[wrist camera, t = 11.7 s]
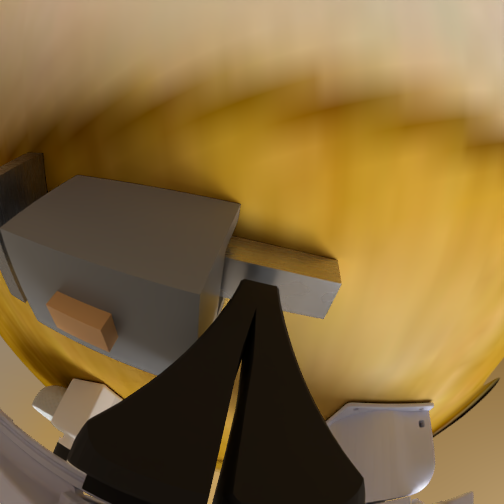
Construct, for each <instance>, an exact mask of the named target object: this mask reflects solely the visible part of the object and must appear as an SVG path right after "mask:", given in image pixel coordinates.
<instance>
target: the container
mask: <svg viewBox="0 0 504 504" xmlns="http://www.w3.org/2000/svg"><path fill="white" fill-rule="evenodd" d="M122 400H123V399H122V398H121V397H119V396H118V395H117V394H115V393H114V392H113V391H112V390H111V389H109V388H108V387H107V386H106V385H104V384H100V383H94V382H89V381H84V380H79V379H72V381H71V383H70V385H69V386H68V388H67V390H66V392H65V394H64V396H63V398H62V400H61V402H60V404H59V405H58V407H57V409H56V411H55V413H54V415H53V418H52V420H51V423H52V424H53V426H55V427H56V428H57V429H58V430H60V431H61V432H63V433H64V436H63V438H61V437H60V438H59V440H58V443H57V445H56V447H55V450H54V452H53V453H54V454H55V455H57V456H58V457H60V458H61V459H63V460H65V461H66V462H68V459H67V457H68V454H69V452H70V449H71V447H72V444H73V442H74V440H75V438H76V436H77V434H78V433H79V431H80V430H81V428H82V427H83V425H84V424H85V423H86V422H87V420H89V419H90V418H92V417H94V416H95V415H97V414H99V413H101V412H103V411H105V410H106V409H108V408H110V407H112V406H114V405H115V404H117V403H119V402H120V401H122ZM68 463H69V462H68ZM69 464H70V463H69ZM71 465H72V464H71ZM74 467H75V466H74Z"/></svg>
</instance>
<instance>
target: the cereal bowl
mask: <svg viewBox="0 0 504 504" xmlns="http://www.w3.org/2000/svg"><path fill="white" fill-rule="evenodd" d="M66 390H67V388H64V387H61V386H48V387H45V388H43V389H42V390H40V392H39V393H38V394H37V396H36V398H35V399H34V401H33V404H32V406H33V407H34V408H35V409H36V410H37V411H38V412H39V413H41V414H42V415H43V416H45V417H46V418H47V419H49V420H50V421H51V420H52V418H53V415H54V413H55V411H56V409H57V407H58V405H59V404H60V402H61V400H62V398H63V396H64V394H65V392H66Z"/></svg>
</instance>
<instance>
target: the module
mask: <svg viewBox="0 0 504 504" xmlns="http://www.w3.org/2000/svg"><path fill="white" fill-rule="evenodd" d="M240 205H241V204H238V203H233V202H228V201H224V200H219V199H214V198H209V197H204V196H199V195H194V194H189V193H184V192H179V191H173V190H168V189H162V188H157V187H151V186H145V185H140V184H134V183H127V182H121V181H115V180H108V179H102V178H95V177H88V176H81V175H76V176H74V177H73V178H71V179H69V180H68V181H66V182H64V183H63V184H61V185H60V186H58V187H56V188H55V189H53V190H52V191H50V192H49V193H47V194H45V195H44V196H42V197H41V198H40V199H38V200H37V201H35V202H34V203H32V204H31V205H29V206H28V207H27V208H25V209H24V210H22V211H21V212H20V213H18V214H17V215H16V216H14V217H13V218H12V219H10V220H9V221H8V222H7V223H5V224H4V225H3V226H2V227H0V231H1V234H2V237H3V240H4V243H5V246H6V249H7V252H8V255H9V258H10V260H11V263H12V266H13V268H14V271H15V273H16V276H17V278H18V280H19V283H20V285H21V287H22V289H23V292H24V294H25V296H26V298H27V300H28V302H29V304H30V306H31V308H32V310H33V312H34V314H35V316H36V318H37V320H38V321H39V322H41V323H43V324H44V325H46V326H48V327H50V328H51V329H53V330H55V331H57V332H59V333H61V334H62V335H64V336H66V337H68V338H70V339H72V340H74V341H76V342H78V343H80V344H82V345H84V346H86V347H88V348H91V349H93V350H95V351H97V352H99V353H101V354H104V355H106V356H108V357H111V358H113V359H115V360H118V361H120V362H123V363H125V364H128V365H130V366H133V367H135V368H138V369H141V370H143V371H146V372H149V373H152V374H154V375H157V376H158V375H159V374H160V373H162V372H163V371H164V370H165V369H166V368H168V367H169V366H170V365H171V364H172V363H174V362H175V361H176V360H177V359H178V358H179V357H180V356H181V355H182V354H183V353H185V352H186V351H187V350H188V349H189V348H190V347H191V346H192V345H193V344H194V343H195V342H196V341H197V340H198V338H199V337H200V336H201V335H202V334H203V333H204V332H205V331H206V330H207V328H208V327H209V326H210V325H211V324H212V323H213V322H214V320H215V319H216V318H217V317H218V315H219V314H220V313H221V310H222V307H223V304H224V301H225V297H221V296H220V288H221V281H222V274H223V267H224V260H225V253H226V248H227V246H228V243H229V241H230V238H231V236H232V234H233V231H234V229H235V227H236V224H237V222H238V217H239V211H240Z"/></svg>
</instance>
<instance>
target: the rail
mask: <svg viewBox="0 0 504 504" xmlns="http://www.w3.org/2000/svg"><path fill="white" fill-rule="evenodd" d="M45 194H47V187H46V180H45V172H44V163H43V153H26V154H24V155H22V156H20V157H18V158H16V159H14V160H12V161H10V162H8V163H6V164H5V165H3V166H1V167H0V227H2V226H3V225H4V224H5V223H7V222H8V221H9V220H10V219H12V218H13V217H14V216H16V215H17V214H18V213H20V212H21V211H22V210H24V209H25V208H27V207H28V206H29V205H31V204H32V203H34V202H35V201H37V200H38V199H40V198H41V197H42V196H44V195H45ZM0 270H1V273H2V275H3V277H4V279H5V282H6V284H7V286H8V288H9V290H10V292H11V294H12V295H13V296H15V297H16V298H18V299H20V300H21V301H23V302H26V301H27V298H26V296H25V294H24V292H23V289H22V287H21V285H20V283H19V280H18V278H17V276H16V273H15V271H14V268H13V266H12V263H11V260H10V258H9V255H8V252H7V249H6V246H5V243H4V240H3V237H2V234H1V231H0ZM243 279H248V280H252V281H256V282H260V283H265V284H269V285H273V286H277V287H278V288H279V293H280V301H281V306H282V311H286V312H291V313H296V314H301V315H306V316H311V317H316V318H321V319H324V317H325V315H326V313H327V312H328V310H329V308H330V306H331V304H332V302H333V300H334V298H335V296H336V294H337V292H338V290H339V288H340V286H341V278H340V272H339V266H338V260H334V259H330V258H326V257H322V256H317V255H313V254H309V253H305V252H300V251H296V250H292V249H288V248H283V247H279V246H275V245H271V244H266V243H262V242H258V241H253V240H249V239H244V238H240V237H236V236H231V238H230V241H229V243H228V246H227V248H226V253H225V260H224V267H223V274H222V281H221V288H220V296H221V297H225V298H229V299H231V297H232V296H233V294H234V293H235V291H236V289H237V287H238V285H239V283H240V281H241V280H243Z"/></svg>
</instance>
